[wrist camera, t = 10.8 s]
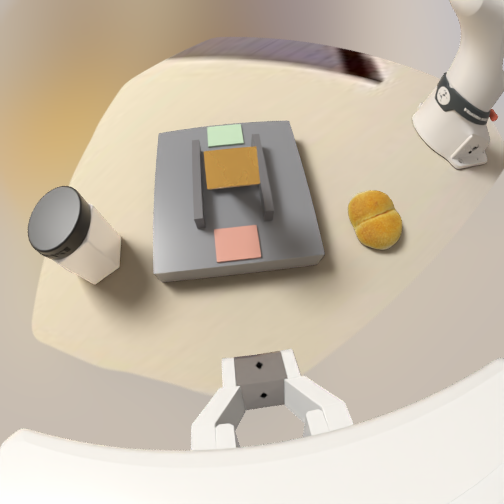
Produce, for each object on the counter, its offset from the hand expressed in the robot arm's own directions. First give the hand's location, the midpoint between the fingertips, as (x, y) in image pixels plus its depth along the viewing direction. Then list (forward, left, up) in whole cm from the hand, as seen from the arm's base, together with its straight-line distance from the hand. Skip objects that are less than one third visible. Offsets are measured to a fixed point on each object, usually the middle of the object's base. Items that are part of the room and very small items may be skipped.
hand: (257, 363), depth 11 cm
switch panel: (0, -21, -22) cm, 31 cm away
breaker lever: (0, -22, -18) cm, 28 cm away
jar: (+20, -15, -22) cm, 33 cm away
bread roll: (-20, -16, -22) cm, 34 cm away
